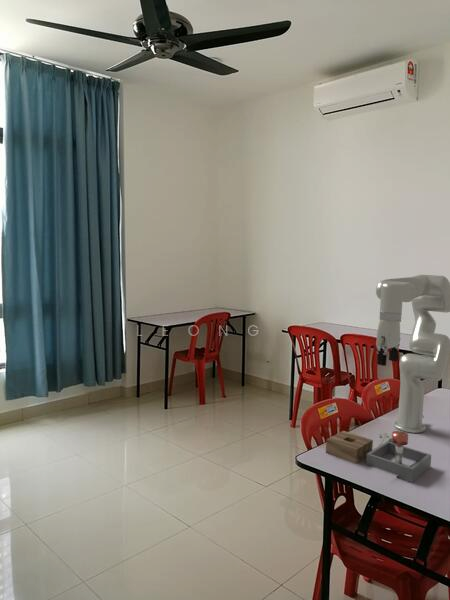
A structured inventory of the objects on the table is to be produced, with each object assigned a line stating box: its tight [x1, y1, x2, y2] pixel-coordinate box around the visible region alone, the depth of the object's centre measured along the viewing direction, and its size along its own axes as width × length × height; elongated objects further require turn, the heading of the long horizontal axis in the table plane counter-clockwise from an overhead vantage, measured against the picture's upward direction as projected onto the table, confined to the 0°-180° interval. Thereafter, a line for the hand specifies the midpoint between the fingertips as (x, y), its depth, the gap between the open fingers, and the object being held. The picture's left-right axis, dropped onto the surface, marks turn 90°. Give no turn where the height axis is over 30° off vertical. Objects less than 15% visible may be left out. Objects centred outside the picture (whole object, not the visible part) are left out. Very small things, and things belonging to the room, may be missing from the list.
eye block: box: [325, 430, 374, 464], centre depth 174 cm, size 12×12×6 cm
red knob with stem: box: [391, 430, 409, 465], centre depth 166 cm, size 5×5×11 cm
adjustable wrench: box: [376, 430, 392, 448], centre depth 185 cm, size 25×6×2 cm, turn 145°
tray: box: [365, 441, 432, 484], centre depth 166 cm, size 16×16×4 cm
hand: (387, 362), depth 177 cm, fingers open, 9 cm apart
